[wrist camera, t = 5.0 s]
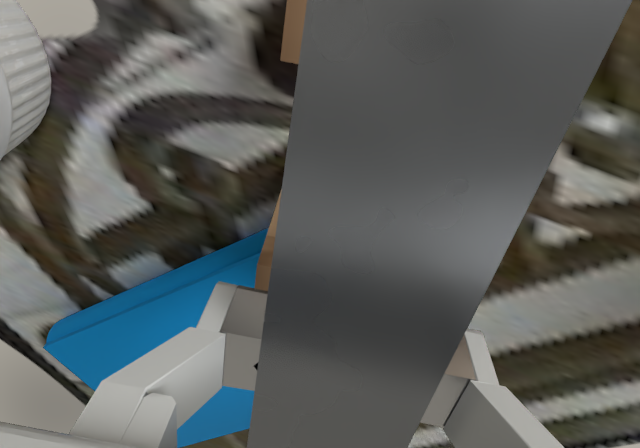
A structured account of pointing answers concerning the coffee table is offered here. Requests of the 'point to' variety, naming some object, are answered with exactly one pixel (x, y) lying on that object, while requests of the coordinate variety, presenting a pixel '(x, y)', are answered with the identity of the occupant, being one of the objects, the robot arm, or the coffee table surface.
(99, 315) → the book
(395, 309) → the rail
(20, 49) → the ramekin
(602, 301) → the coffee table surface
